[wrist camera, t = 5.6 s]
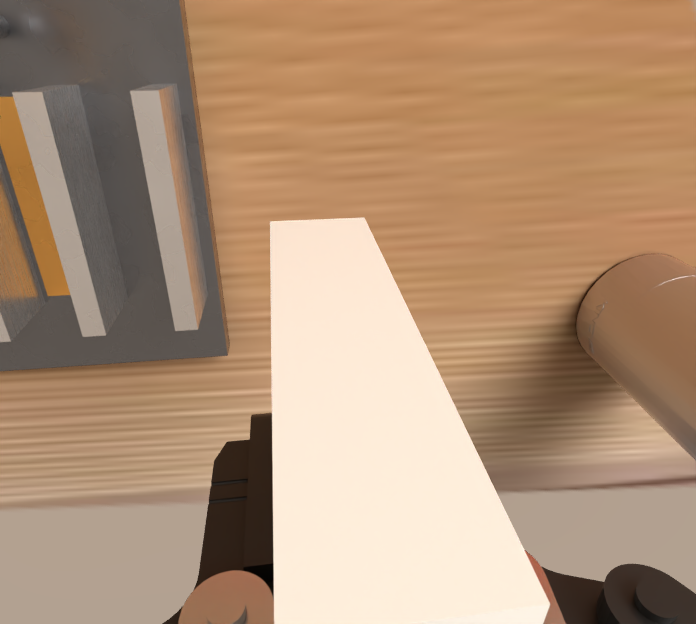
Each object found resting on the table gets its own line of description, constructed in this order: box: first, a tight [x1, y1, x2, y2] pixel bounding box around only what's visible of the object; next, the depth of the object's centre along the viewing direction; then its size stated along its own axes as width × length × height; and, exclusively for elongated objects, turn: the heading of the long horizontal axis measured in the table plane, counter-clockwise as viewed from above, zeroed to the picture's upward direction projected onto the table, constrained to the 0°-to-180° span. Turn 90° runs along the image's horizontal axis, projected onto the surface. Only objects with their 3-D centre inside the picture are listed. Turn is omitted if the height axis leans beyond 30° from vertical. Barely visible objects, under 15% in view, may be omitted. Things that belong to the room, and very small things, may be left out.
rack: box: [0, 0, 230, 371], centre depth 24 cm, size 17×21×12 cm
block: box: [270, 218, 550, 624], centre depth 10 cm, size 2×7×10 cm, turn 0°
